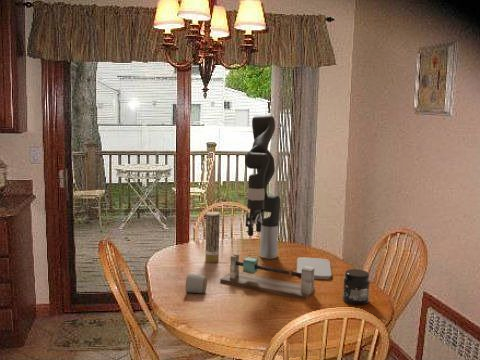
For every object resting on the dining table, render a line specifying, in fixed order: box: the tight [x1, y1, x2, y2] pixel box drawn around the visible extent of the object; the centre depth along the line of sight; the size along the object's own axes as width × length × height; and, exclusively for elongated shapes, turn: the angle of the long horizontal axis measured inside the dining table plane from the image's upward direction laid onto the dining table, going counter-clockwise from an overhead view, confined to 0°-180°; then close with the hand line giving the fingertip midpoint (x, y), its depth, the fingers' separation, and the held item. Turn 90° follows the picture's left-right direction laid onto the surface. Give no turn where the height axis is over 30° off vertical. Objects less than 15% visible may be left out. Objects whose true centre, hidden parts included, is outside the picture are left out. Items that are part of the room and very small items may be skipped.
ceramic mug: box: [185, 273, 208, 294], centre depth 194 cm, size 11×8×8 cm
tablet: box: [296, 256, 333, 280], centre depth 225 cm, size 16×26×2 cm, turn 172°
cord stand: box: [219, 253, 316, 301], centre depth 201 cm, size 12×40×12 cm, turn 64°
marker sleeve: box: [242, 256, 259, 275], centre depth 204 cm, size 5×5×6 cm
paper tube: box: [204, 211, 221, 264], centre depth 232 cm, size 7×7×25 cm
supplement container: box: [342, 268, 371, 306], centre depth 188 cm, size 10×10×12 cm
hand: (254, 233), depth 205 cm, fingers open, 8 cm apart
